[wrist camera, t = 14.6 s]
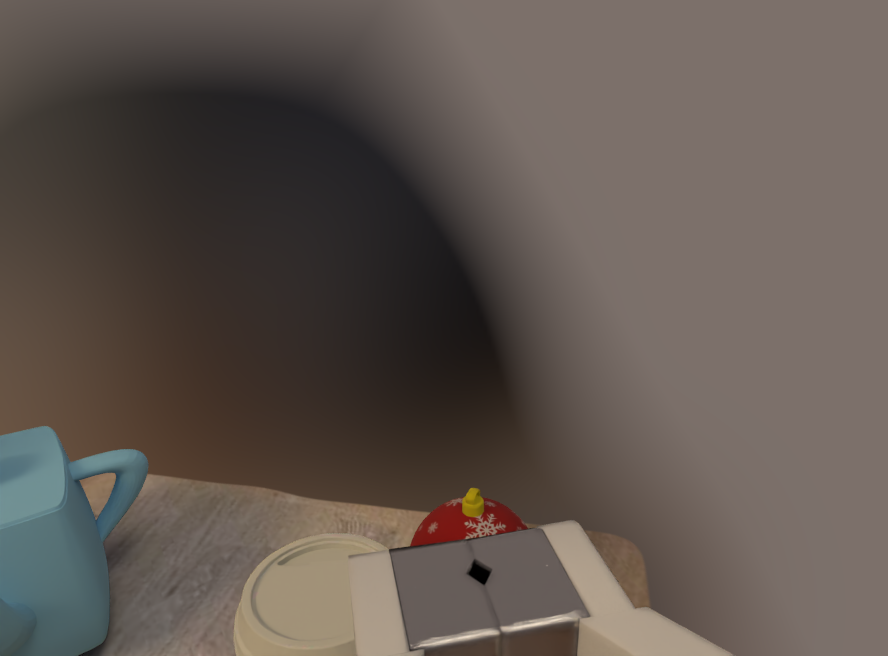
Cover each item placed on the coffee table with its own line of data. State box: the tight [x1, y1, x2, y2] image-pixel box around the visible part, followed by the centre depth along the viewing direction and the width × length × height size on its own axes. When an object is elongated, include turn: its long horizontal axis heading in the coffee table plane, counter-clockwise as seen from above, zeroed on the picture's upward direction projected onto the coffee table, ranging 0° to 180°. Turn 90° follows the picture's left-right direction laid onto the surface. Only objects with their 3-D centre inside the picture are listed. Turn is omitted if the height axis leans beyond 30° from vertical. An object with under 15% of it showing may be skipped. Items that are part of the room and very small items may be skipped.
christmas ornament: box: [410, 488, 528, 546], centre depth 42 cm, size 9×9×10 cm
